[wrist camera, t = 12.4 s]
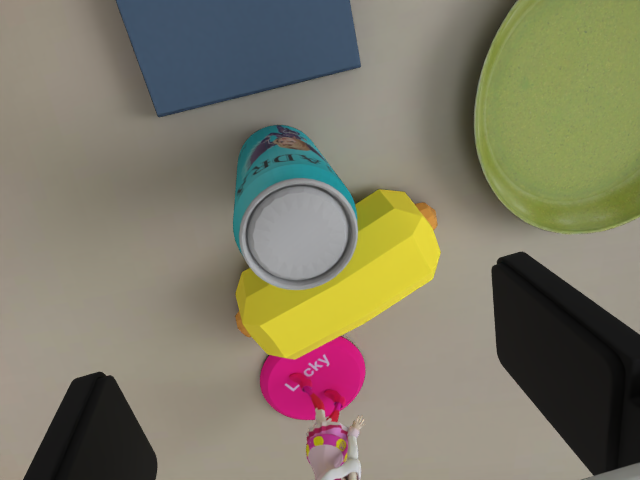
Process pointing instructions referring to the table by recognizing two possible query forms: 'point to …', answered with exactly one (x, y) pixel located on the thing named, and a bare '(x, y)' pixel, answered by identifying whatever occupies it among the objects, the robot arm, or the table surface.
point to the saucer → (563, 114)
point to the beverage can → (291, 211)
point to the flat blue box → (235, 46)
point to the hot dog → (346, 280)
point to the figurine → (320, 403)
